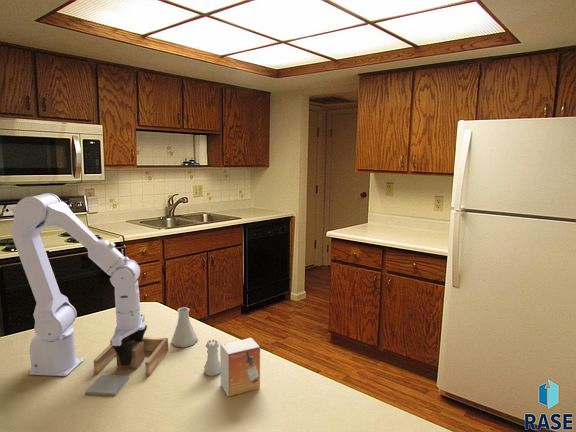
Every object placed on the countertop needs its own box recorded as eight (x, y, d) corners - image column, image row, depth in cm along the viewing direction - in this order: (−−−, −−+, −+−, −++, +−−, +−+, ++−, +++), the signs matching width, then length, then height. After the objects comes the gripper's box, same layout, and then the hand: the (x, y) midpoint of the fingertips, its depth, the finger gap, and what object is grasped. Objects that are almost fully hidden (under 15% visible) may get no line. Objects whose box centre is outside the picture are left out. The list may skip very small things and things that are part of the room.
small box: (228, 398, 90) (227, 354, 88) (220, 385, 95) (219, 343, 93) (260, 388, 94) (260, 346, 92) (251, 376, 99) (251, 336, 97)
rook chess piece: (218, 377, 98) (217, 347, 97) (201, 375, 99) (200, 345, 98) (224, 368, 102) (224, 338, 101) (208, 366, 103) (207, 336, 102)
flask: (202, 340, 117) (201, 308, 116) (184, 350, 111) (182, 316, 110) (185, 334, 121) (184, 302, 119) (166, 343, 115) (164, 310, 113)
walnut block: (117, 368, 101) (115, 350, 101) (126, 358, 106) (125, 341, 106) (136, 369, 101) (135, 351, 100) (144, 359, 106) (143, 341, 105)
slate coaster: (85, 394, 91) (85, 391, 91) (101, 377, 98) (101, 374, 98) (115, 395, 90) (115, 393, 90) (129, 378, 97) (129, 376, 97)
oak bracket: (94, 373, 99) (93, 360, 99) (119, 348, 112) (118, 336, 111) (149, 375, 98) (149, 362, 98) (168, 349, 111) (167, 338, 111)
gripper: (130, 321, 94) (133, 374, 96) (154, 299, 108) (156, 346, 110) (101, 320, 94) (105, 373, 97) (129, 298, 109) (131, 345, 111)
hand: (130, 358), depth 104 cm, fingers closed on walnut block, 5 cm apart
